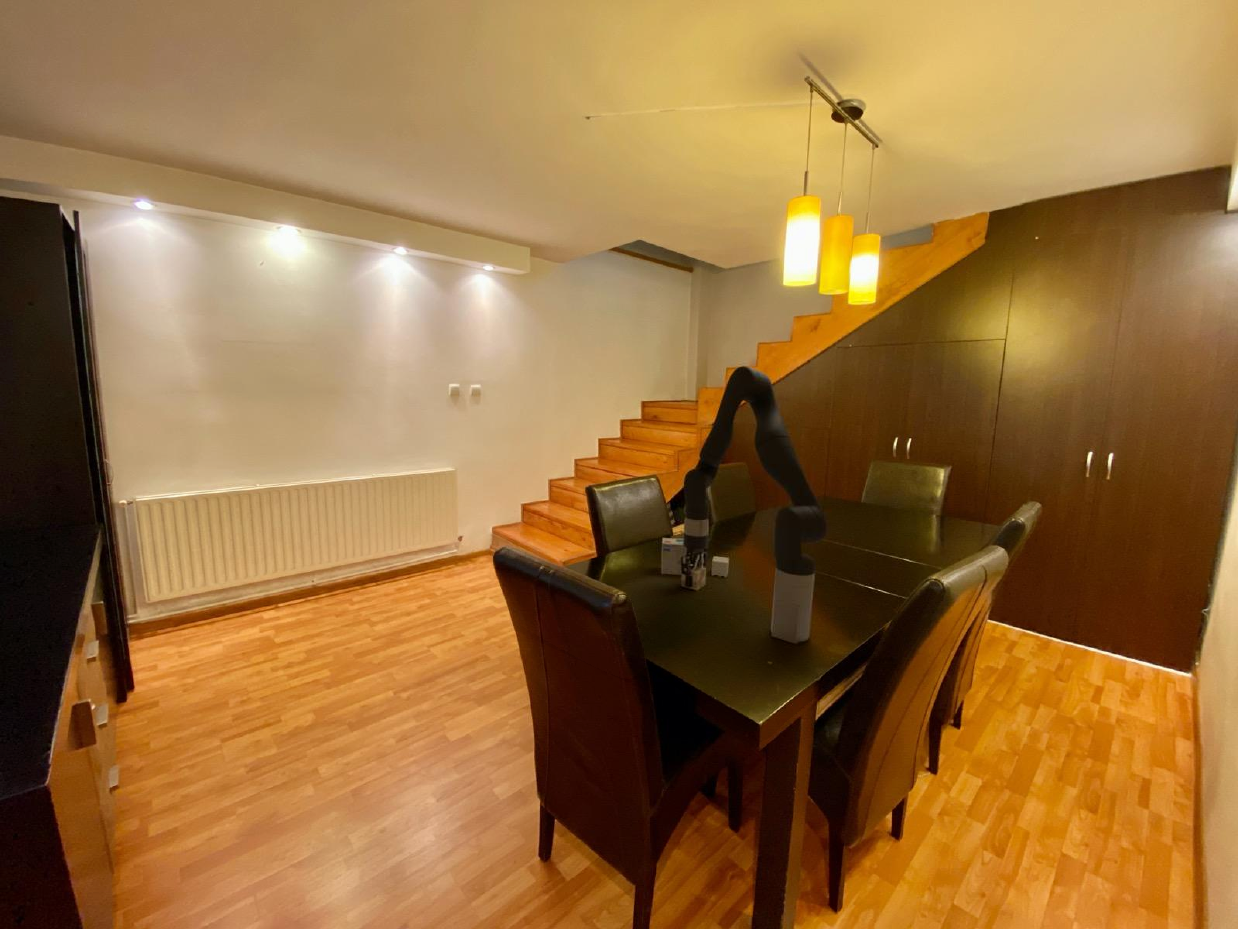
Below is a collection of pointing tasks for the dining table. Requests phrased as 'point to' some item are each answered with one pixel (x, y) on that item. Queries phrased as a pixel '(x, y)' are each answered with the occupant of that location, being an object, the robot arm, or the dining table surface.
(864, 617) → the dining table surface
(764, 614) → the dining table surface
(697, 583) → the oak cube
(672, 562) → the light bulb box
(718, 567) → the grey block
